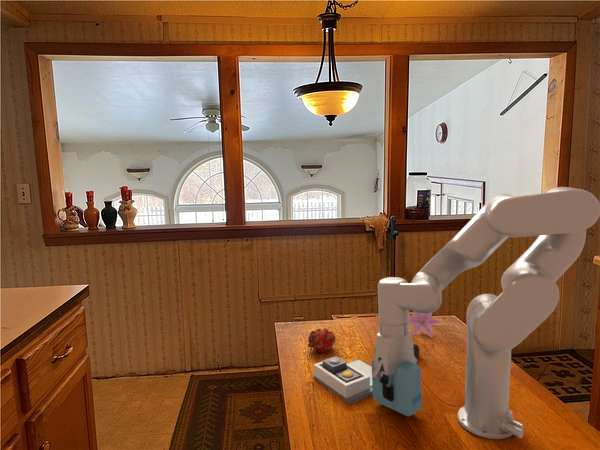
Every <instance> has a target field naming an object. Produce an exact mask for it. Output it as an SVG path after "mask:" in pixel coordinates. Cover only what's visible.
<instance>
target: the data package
mask: <svg viewBox="0 0 600 450" xmlns="http://www.w3.org/2000/svg"><path fill="white" fill-rule="evenodd" d="M371 367H372V375H373V373H374V371H375V366H374V358H373V359H372V360H371ZM387 378H388V376H386V378H385V379H386V380H387ZM391 386H393V398H394V400H393V401H392V402H391V401H389V400H387V399H386V398H384V397H383V389H382V383H380V382H379V381H378V380H377V379H375V378H373V377H372V389H373V395H372V398H373V399H374V401H375V402H377V403H378V404H380V405H383V406H385V407H387V408H389V409H391V410H394V411H395V412H398V413H399V414H402V415H403V416H406V417H411V416H413V415H414V414H415V413H416V412H418V411H419V410H420V409H421V408H422V405H423V404H422V401H423V400H422V372H421V368H420V366H419V365H418V364H417V363H416V364H414V363H411V362H407V363H404V364H402V365H400V366H397V367H396V374H394V375H393V378H392V383H391Z"/></svg>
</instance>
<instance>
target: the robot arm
mask: <svg viewBox="0 0 600 450" xmlns="http://www.w3.org/2000/svg"><path fill="white" fill-rule="evenodd" d="M599 218H600V201H599V199H598V198H597V197H596V196H595V195H594V194H593V193H592V192H590V191H588V190H585V189H582V188H575V187H568V186H558V187H556V186H555V187H553V188H551V189H549V190H547V191H546V192H544V193H535V194H526V195H525V194H524V195H512V194H506V193H502V194H497V195H495V196H493V197H492V198H490V199H489V200H488V201H487V202H486V203H485V204H484V205H482V207H481V208H480V209H479V210H478V211H477V212H476V213H475V214H474V215H473V217H472V218H471V219H470V220H469V221H468V222H466V224H465V225H464V226H463V227H462V228H461V229H460V230H459V231H458V232H457V233H456V234H455V235H454V236H453V238H452V239H450V240H449V241H448V242H447V243H446V244H445V245H444V246H443V247H442V248H441V249H440V250H439V251H437V253H436V254H434V256H433V257H431V258H430V260H428V262H426V264H424V265H423V267H422V268H420V270H419V271H418V272H417V273H416V274H415V275H414V277H413V278H412V280H411V282H410V283H408V281H407V279H404V278H401V277H398V276H395V277H394V276H388V277H383V278H381V279H380V280H379V281H378V283H377V301H378V302H377V305H378V307H377V308H378V333H376V337H375V342H374V343H375V344H374V358H373V359H374V366H375V371H374V373H373V375H372V377H373V378H375V379H377V380H378V381H379V382H380V383H382V389H383V397H384V398H386V399H387V400H389V401H391V402H392V401H393V400H394V398H393V386H391V383H392V378H393V375H394V374H396V367H397V366H400V365H402V364H404V363H407V362H411V363H414V364H416V365H417V362H418V359H417V358H415V356H414V347H413V344H414V342H413V333H412V330H411V329H410V328H411V327H410V325H411V324H410V319H409V316H410V312H413V313H414V312H419V313H432V314H433V313H434V312H436V311H438V310H439V309H440V308H441V305H442V303H443V302H442V300H443V295H442V294H443V293H442V291H444V289H445V288H446V287H447V286H448V285H449V284H450V283H451V282H452V281H454V279H455V278H456V277H458V276H459V275H460V274H462V273H463V272H465V271H466V270H467V271H468V270H469V269H470V270H471V269H475V268H476V267H479V266H481V265H482V264H483V263H484V262H485V261H486V260H487V259H489V257H490V256H491V255H492V254H493V253H494V252H495V251H496V250H497V249H498V248H499V247H500V246H501V245H502V244H503V243H504V242H506V240H508V238H524V237H529V238H530V237H537V238H536V239H535V240H534V241H533V243H532V244H531V245H530V246H529V247H528V248H527V249H526V250H525V251H524V252H523V253H522V254H521V255H520V256H519V257H518V258H517V259H516V260H515V261H514V262H513V263H512V264H511V265H510V266H509V267H508V268H507V269H506V270H504V272H503V274H502V276H501V280H500V285H501V288H502V291H501V292H500V294H499V295H496V294H492V293H482V294H478V295H477V296H476V297H475V296H474V297H473V298H472V299H471V301H470V302H469V304H468V306H467V309H466V315H465V319H466V353H465V354H466V358H465V359H466V360H465V387H464V392H465V393H464V406H462V407H460V408H459V409H458V412H457V420H458V422H459V424H460V425H461V427H463V428H464V430H466V431H467V432H470V433H471V434H473V435H475V436H478V437H482V438H484V439H485V438H486V439H490V440H503V439H507V438H510V437H511V436H515V437H517V438H519V439H522V438H523V436H524V427H525V426H524V424H523V423H521V422H520V421H516V420H515V419H514V412H513V410H510V409H509V406H510V405H509V404H510V401H509V399H510V383H511V381H510V380H511V366H512V365H511V364H512V363H511V361H512V349H514V348H515V347H516V346H518V345H519V344H521V343H522V341H523V342H524V340H525V339H526V338H527V337H528V336H529V335H531V334H532V333H533V332H534V331H535V330H536V329H537V328H538V327H539V326H541V324H542V323H544V322H545V321H546V319H548V317H550V315H551V314H552V313H553V312H554V311H555V309H556V308H557V305H558V303H559V300H560V290H559V289H560V288H559V286H558V284H557V281H558V280H559V279H560V278H561V277H562V276H563V275H564V274H565V273H566V271H568V269H570V267H571V266H572V265H573V264H574V263H575V261H577V259H578V258H580V257H579V256H580V255H581V254H582V252H583V249H584V247H585V244H586V239H587V229H589V228H591V227H592V226H593V225H595V223H597V222H598V219H599ZM386 376H388V378H387V380H386V379H385V378H386Z"/></svg>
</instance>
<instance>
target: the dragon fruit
mask: <svg viewBox="0 0 600 450" xmlns="http://www.w3.org/2000/svg"><path fill="white" fill-rule="evenodd" d="M307 341H308V344H307V346H308V348H310V350H311V351H312V352H316V353H318V354H319V352H322V353H325V354H326V353H328V351H331V350H332V349H333V346H334V345H335V343H336V342H337V341H336V336H335V334H334V332H333V331H329V329H328V328H323V329H321V328H317V329H316V330H311V332H310V333H309V335H308V337H307Z"/></svg>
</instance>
